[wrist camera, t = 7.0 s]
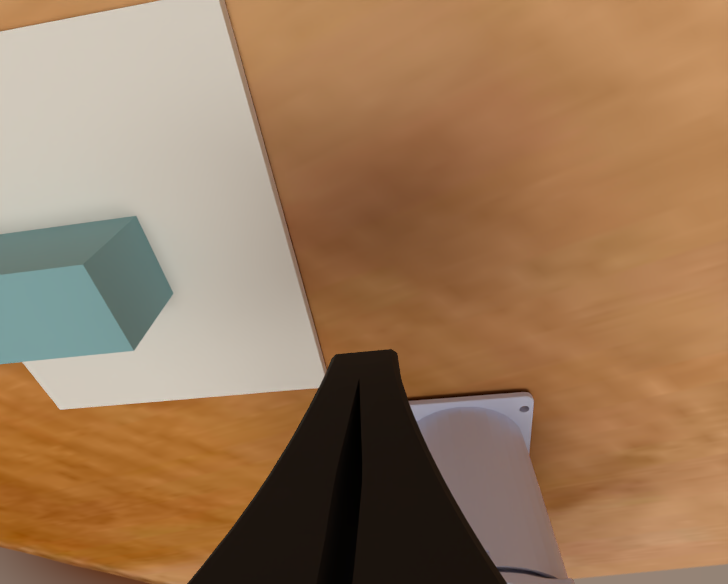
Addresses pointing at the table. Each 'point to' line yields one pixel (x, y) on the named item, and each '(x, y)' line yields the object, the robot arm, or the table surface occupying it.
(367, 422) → the robot arm
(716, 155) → the table surface
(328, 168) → the table surface
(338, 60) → the table surface
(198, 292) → the white mat
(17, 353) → the teal block
